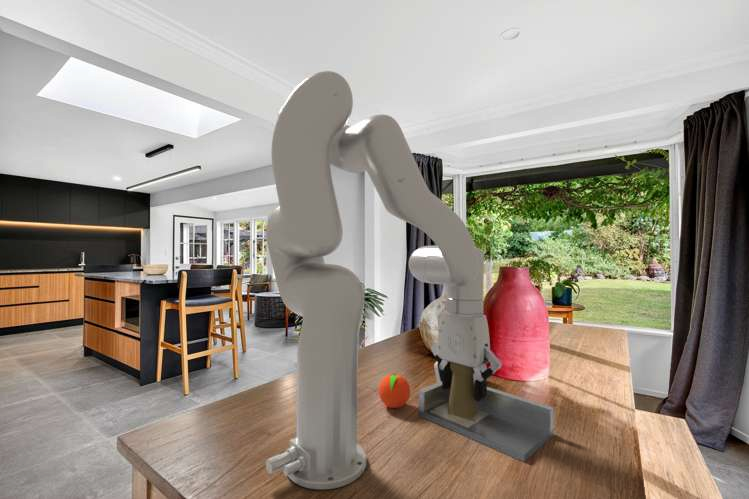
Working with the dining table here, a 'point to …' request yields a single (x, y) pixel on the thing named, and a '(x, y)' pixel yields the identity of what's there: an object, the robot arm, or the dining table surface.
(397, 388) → the clementine
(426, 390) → the tray
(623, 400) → the dining table surface
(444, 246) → the robot arm
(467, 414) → the olive pawn figure
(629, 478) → the dining table surface
